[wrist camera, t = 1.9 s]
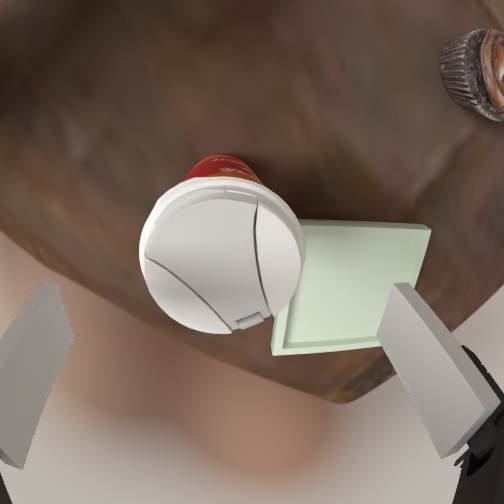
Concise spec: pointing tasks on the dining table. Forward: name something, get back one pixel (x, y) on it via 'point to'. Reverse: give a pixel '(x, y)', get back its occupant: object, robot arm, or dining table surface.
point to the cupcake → (476, 71)
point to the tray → (347, 283)
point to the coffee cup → (221, 248)
